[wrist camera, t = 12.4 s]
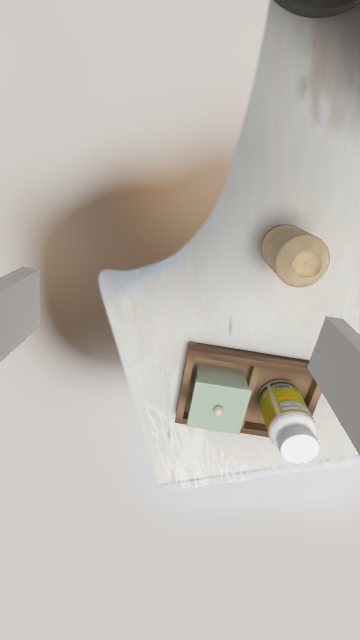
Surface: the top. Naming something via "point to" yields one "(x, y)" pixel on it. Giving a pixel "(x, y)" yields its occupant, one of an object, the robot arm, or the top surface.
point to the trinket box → (218, 399)
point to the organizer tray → (247, 379)
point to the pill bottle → (288, 421)
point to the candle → (295, 255)
